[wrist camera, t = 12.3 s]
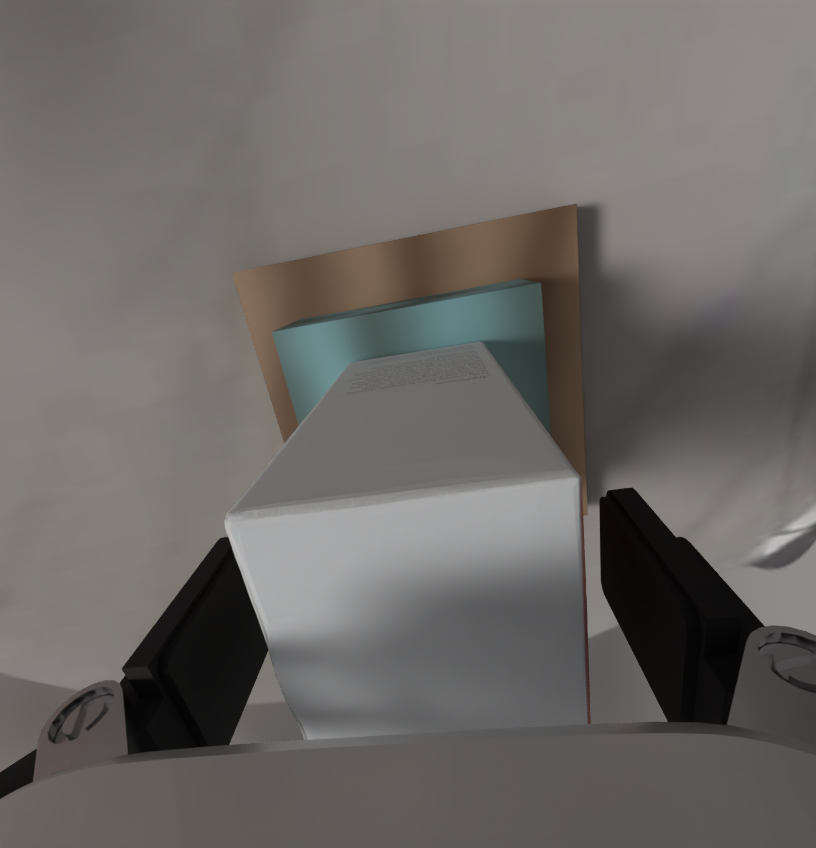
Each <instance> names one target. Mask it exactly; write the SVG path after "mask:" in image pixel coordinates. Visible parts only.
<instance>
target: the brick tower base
mask: <svg viewBox="0 0 816 848" xmlns="http://www.w3.org/2000/svg"><path fill="white" fill-rule="evenodd" d="M232 275H233V278H234V281H235V285H236V288H237V291H238V294H239V298H240V301H241V304H242V307H243V311H244V314H245V317H246V320H247V324H248V327H249V330H250V333H251V337H252V340H253V343H254V346H255V350H256V353H257V356H258V359H259V363H260V366H261V369H262V372H263V375H264V379H265V382H266V385H267V388H268V392H269V395H270V398H271V401H272V405H273V408H274V411H275V414H276V418H277V421H278V424H279V427H280V431H281V434H282V437H283V440H284V444H285V442H286V441H287V440H288V439H289V437H290V436H291V435H292V434H293V432H294V431H295V430H296V429H297V427H298V426H299V425H300V424H301V422H302V421H303V420H304V419H305V418H306V416H307V415H308V414H309V413H310V412H311V410H312V409H313V408H314V407H315V406H316V404H317V403H318V402H319V400H320V399H321V398H322V396H323V395H324V394H325V393H326V391H327V390H328V389H329V388H330V386H331V385H332V384H333V383H334V382H335V380H336V379H337V378H338V377H339V376H340V374H341V373H342V372H343V371H344V369H345V368H346V367H347V366H348V365H349V363H351V362H355V361H362V360H368V359H374V358H381V357H387V356H393V355H400V354H406V353H412V352H418V351H424V350H430V349H437V348H443V347H449V346H455V345H461V344H468V343H473V342H479V341H480V342H483V343H484V344H485V346H486V347H487V349H488V350H489V351H490V353H491V354H492V355H493V357H494V359H495V360H496V361H497V363H498V364H499V365H500V367H501V368H502V369H503V371H504V372H505V373H506V375H507V376H508V378H509V379H510V381H511V382H512V383H513V385H514V386H515V387H516V389H517V390H518V391H519V393H520V394H521V396H522V397H523V399H524V400H525V401H526V403H527V404H528V405H529V407H530V408H531V409H532V411H533V412H534V413H535V415H536V416H537V418H538V419H539V420H540V422H541V423H542V425H543V426H544V427H545V429H546V430H547V431H548V433H549V434H550V436H551V437H552V438H553V440H554V441H555V443H556V444H557V445H558V447H559V448H560V449H561V451H562V452H563V453H564V454H565V456H566V457H567V459H568V460H569V462H570V463H571V465H572V466H573V467H574V469H575V470H576V471H577V472H578V473H579V474H580V475H581V477H582V496H583V516H584V515H588V513H587V485H586V457H585V429H584V401H583V374H582V346H581V318H580V290H579V262H578V234H577V206H576V204H573V205H568V206H563V207H558V208H553V209H548V210H543V211H538V212H533V213H528V214H523V215H518V216H513V217H508V218H503V219H498V220H493V221H488V222H483V223H478V224H473V225H468V226H463V227H458V228H453V229H448V230H443V231H438V232H433V233H428V234H423V235H418V236H413V237H408V238H403V239H398V240H393V241H388V242H383V243H379V244H374V245H369V246H364V247H359V248H354V249H349V250H344V251H339V252H334V253H329V254H324V255H319V256H314V257H309V258H304V259H299V260H294V261H289V262H284V263H279V264H274V265H269V266H264V267H259V268H254V269H249V270H244V271H239V272H234V273H232Z"/></svg>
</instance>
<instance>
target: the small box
mask: <svg viewBox="0 0 816 848" xmlns="http://www.w3.org/2000/svg"><path fill="white" fill-rule="evenodd" d="M225 530H226V532H227V535H228V537H229V540H230V543H231V546H232V549H233V552H234V556H235V558H236V561H237V563H238V566H239V569H240V571H241V574H242V577H243V580H244V583H245V586H246V588H247V591H248V594H249V597H250V600H251V602H252V605H253V607H254V610H255V613H256V615H257V618H258V620H259V623H260V626H261V629H262V632H263V635H264V638H265V641H266V643H267V647H268V650H269V654H270V657H271V661H272V664H273V668H274V671H275V675H276V678H277V680H278V683H279V685H280V688H281V690H282V693H283V695H284V698H285V700H286V701H287V703H288V705H289V707H290V709H291V712H292V713H293V715H294V717H295V718H296V721H297V723H298V725H299V727H300V729H301V732H302V735H303V737H304V740H314V739H330V738H346V737H362V736H379V735H396V734H413V733H430V732H446V731H465V730H483V729H502V728H520V727H539V726H557V725H578V724H591V719H590V691H589V664H588V663H589V662H588V661H589V660H588V632H587V598H586V574H585V550H584V526H583V496H582V477H581V475H580V474H579V473H578V472H577V471H576V470H575V469H574V467H573V466H572V465H571V463H570V462H569V460H568V459H567V457H566V456H565V454H564V453H563V452H562V451H561V449H560V448H559V447H558V445H557V444H556V443H555V441H554V440H553V438H552V437H551V436H550V434H549V433H548V431H547V430H546V429H545V427H544V426H543V425H542V423H541V422H540V420H539V419H538V418H537V416H536V415H535V413H534V412H533V411H532V409H531V408H530V407H529V405H528V404H527V403H526V401H525V400H524V399H523V397H522V396H521V394H520V393H519V391H518V390H517V389H516V387H515V386H514V385H513V383H512V382H511V381H510V379H509V378H508V376H507V375H506V373H505V372H504V371H503V369H502V368H501V367H500V365H499V364H498V363H497V361H496V360H495V359H494V357H493V355H492V354H491V353H490V351H489V350H488V349H487V347H486V346H485V344H484V343H483V342H480V341H479V342H473V343H468V344H461V345H455V346H449V347H443V348H437V349H430V350H424V351H418V352H412V353H406V354H400V355H393V356H387V357H381V358H374V359H368V360H362V361H355V362H351V363H349V365H348V366H347V367H346V368H345V369H344V371H343V372H342V373H341V374H340V376H339V377H338V378H337V379H336V380H335V382H334V383H333V384H332V385H331V386H330V388H329V389H328V390H327V391H326V393H325V394H324V395H323V396H322V398H321V399H320V400H319V402H318V403H317V404H316V406H315V407H314V408H313V409H312V410H311V412H310V413H309V414H308V415H307V416H306V418H305V419H304V420H303V421H302V422H301V424H300V425H299V426H298V427H297V429H296V430H295V431H294V432H293V434H292V435H291V436H290V437H289V439H288V440H287V441H286V442H285V444H284V445H283V446H282V447H281V449H280V450H279V451H278V452H277V454H276V455H275V456H274V457H273V459H272V460H271V461H270V462H269V464H268V465H267V466H266V467H265V469H264V470H263V471H262V472H261V473H260V475H259V476H258V477H257V478H256V480H255V481H254V482H253V484H252V485H251V486H250V487H249V488H248V489H247V491H246V492H245V493H244V494H243V495H242V496H241V498H240V499H239V500H238V501H237V502H236V503H235V505H234V506H233V507H232V508H231V509H230V510H229V512H228V513H227V514H226V517H225Z"/></svg>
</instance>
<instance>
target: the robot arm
mask: <svg viewBox="0 0 816 848" xmlns="http://www.w3.org/2000/svg"><path fill="white" fill-rule="evenodd" d="M600 559H601V585H602V589H603V592H604V595H605V597H606V599H607V601H608V603H609V605H610V607H611V609H612V611H613V613H614V615H615V617H616V619H617V621H618V623H619V625H620V627H621V629H622V631H623V633H624V635H625V637H626V639H627V641H628V643H629V645H630V647H631V649H632V651H633V653H634V655H635V657H636V659H637V661H638V663H639V665H640V667H641V669H642V671H643V673H644V675H645V677H646V679H647V681H648V683H649V685H650V687H651V689H652V691H653V693H654V695H655V697H656V699H657V701H658V703H659V705H660V707H661V709H662V711H663V713H664V715H665V716H666V718H667V721H668V722H637V723H636V722H635V723H606V724H578V725H557V726H539V727H520V728H502V729H483V730H465V731H446V732H430V733H413V734H396V735H379V736H362V737H346V738H330V739H314V740H299V741H283V742H269V743H253V744H238V745H229V743H230V741H231V739H232V736H233V734H234V732H235V729H236V726H237V724H238V722H239V719H240V717H241V715H242V712H243V710H244V708H245V705H246V703H247V700H248V698H249V695H250V693H251V691H252V688H253V686H254V683H255V681H256V679H257V676H258V674H259V671H260V669H261V667H262V664H263V662H264V659H265V657H266V655H267V652H268V647H267V643H266V641H265V638H264V635H263V632H262V629H261V626H260V623H259V620H258V618H257V615H256V613H255V610H254V607H253V605H252V602H251V600H250V597H249V594H248V591H247V588H246V586H245V583H244V580H243V577H242V574H241V571H240V569H239V566H238V563H237V561H236V558H235V556H234V552H233V549H232V546H231V543H230V540H229V537H224V538H220V539H219V540H218V541H217V542H216V544H215V545H214V546H213V548H212V549H211V550H210V552H209V553H208V554H207V556H206V557H205V558H204V560H203V561H202V562H201V564H200V565H199V566H198V568H197V569H196V570H195V572H194V573H193V574H192V576H191V577H190V578H189V580H188V581H187V582H186V584H185V585H184V586H183V588H182V589H181V590H180V592H179V593H178V594H177V596H176V597H175V598H174V600H173V601H172V602H171V604H170V605H169V606H168V608H167V609H166V610H165V612H164V613H163V614H162V616H161V617H160V618H159V620H158V621H157V622H156V624H155V625H154V626H153V628H152V629H151V630H150V632H149V633H148V634H147V636H146V637H145V638H144V640H143V641H142V642H141V644H140V645H139V646H138V648H137V649H136V650H135V652H134V653H133V654H132V656H131V657H130V658H129V660H128V661H127V662H126V664H125V665H124V666H123V668H122V670H123V672H124V673H125V677H124V678H123V679H122V681H121V682H120V683H118V682H116V681H114V680H105V681H102V682H98V683H94V684H92V685H90V686H88V687H86V688H84V689H82V690H81V691H79V692H78V693H76V694H75V695H73V696H72V697H70V698H69V699H68V700H67V701H66V702H64V703H63V704H62V705H61V706H60V707H59V708H58V709H57V710H56V711H55V712H54V713H53V714H52V715H51V716H50V718H49V719H48V720H47V722H46V723H45V725H44V727H43V728H42V730H41V733H40V736H39V739H38V746H37V749H36V750H34V751H32V752H31V753H29V754H28V755H26V756H25V757H23V758H22V759H20V760H19V761H17V762H16V763H14V764H12V765H11V766H9V767H8V768H6V769H5V770H3V771H2V772H0V848H816V635H813V634H811V633H808V632H806V631H803V630H799V629H795V628H791V627H786V626H766V627H765V626H764V625H763V624H762V623H761V622H760V621H759V620H758V618H757V617H756V616H755V615H754V614H753V613H752V612H751V610H750V609H749V608H748V607H747V606H746V605H745V604H744V603H743V601H742V600H741V599H740V598H739V597H738V596H737V595H736V594H735V592H734V591H733V590H732V589H731V588H730V587H729V586H728V585H727V583H726V582H725V581H724V580H723V579H722V578H721V577H720V576H719V574H718V573H717V572H716V571H715V570H714V569H713V568H712V567H711V565H710V564H709V563H708V562H707V561H706V560H705V559H704V558H703V556H702V555H701V554H700V553H699V552H698V551H697V550H696V549H695V548H694V546H693V545H692V544H691V543H690V542H689V541H688V540H687V539H685V538H682V537H675V536H674V535H673V533H672V532H671V531H670V530H669V529H668V528H667V526H666V525H665V524H664V523H663V522H662V521H661V519H660V518H659V517H658V516H657V515H656V514H655V512H654V511H653V510H652V509H651V508H650V507H649V505H648V504H647V503H646V502H645V501H644V500H643V498H642V497H641V496H640V495H639V494H638V493H637V491H636V490H635V489H634V488H624V489H616V490H609V491H608V492H607V494H606V497H601V498H600Z"/></svg>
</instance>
